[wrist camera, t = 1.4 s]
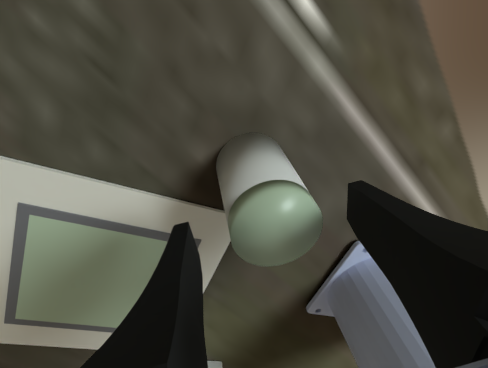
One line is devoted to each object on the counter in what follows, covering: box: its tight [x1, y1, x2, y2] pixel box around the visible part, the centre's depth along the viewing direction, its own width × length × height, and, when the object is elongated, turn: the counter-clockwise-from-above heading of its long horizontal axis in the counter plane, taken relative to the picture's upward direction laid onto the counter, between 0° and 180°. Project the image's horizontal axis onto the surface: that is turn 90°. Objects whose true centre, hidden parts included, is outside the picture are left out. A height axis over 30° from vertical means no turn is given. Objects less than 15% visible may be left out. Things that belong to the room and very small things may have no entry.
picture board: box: [0, 156, 231, 350], centre depth 21 cm, size 14×15×1 cm
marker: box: [216, 133, 323, 266], centre depth 16 cm, size 4×4×6 cm
